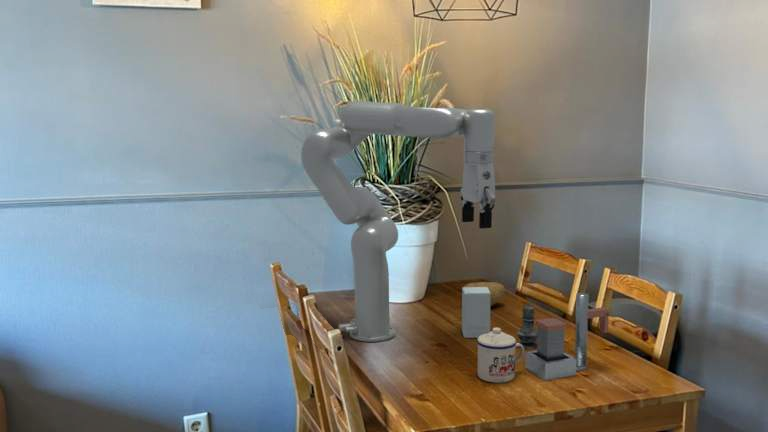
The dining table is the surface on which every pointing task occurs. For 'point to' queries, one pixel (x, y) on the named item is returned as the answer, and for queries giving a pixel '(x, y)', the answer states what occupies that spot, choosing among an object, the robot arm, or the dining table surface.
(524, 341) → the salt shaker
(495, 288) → the potato
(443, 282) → the dining table surface
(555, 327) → the grey tall block
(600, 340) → the dining table surface
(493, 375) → the teacup with lid
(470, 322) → the supplement box
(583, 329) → the water pump with trough
